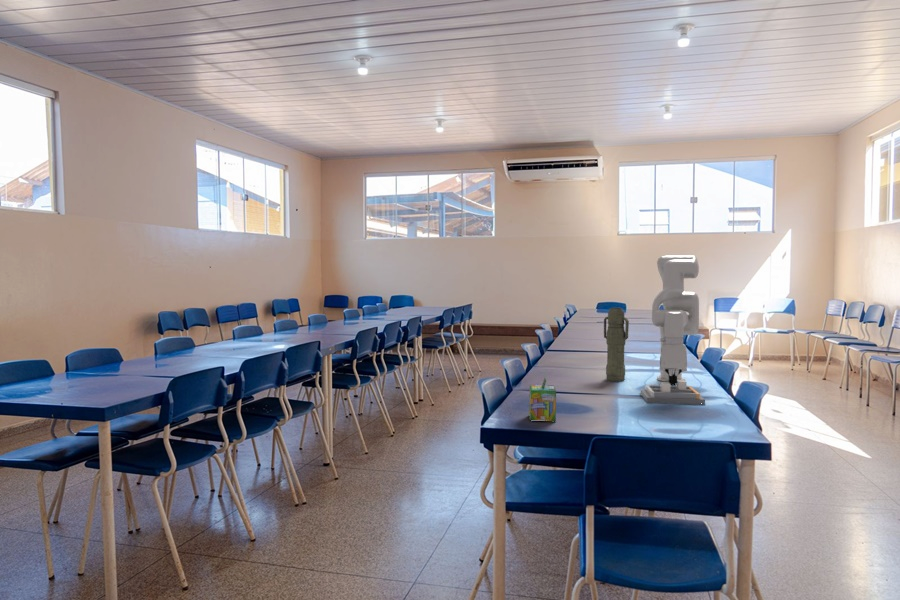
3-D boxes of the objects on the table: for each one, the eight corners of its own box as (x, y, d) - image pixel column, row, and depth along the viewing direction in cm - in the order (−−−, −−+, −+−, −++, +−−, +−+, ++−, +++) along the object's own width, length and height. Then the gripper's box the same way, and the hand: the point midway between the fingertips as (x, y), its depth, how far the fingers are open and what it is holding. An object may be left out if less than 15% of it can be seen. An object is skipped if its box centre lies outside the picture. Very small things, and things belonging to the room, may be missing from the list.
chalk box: (528, 415, 207) (528, 375, 206) (554, 415, 206) (554, 376, 205) (529, 422, 197) (529, 380, 197) (556, 422, 196) (556, 381, 196)
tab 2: (678, 393, 231) (678, 381, 230) (676, 390, 235) (676, 379, 235) (686, 393, 230) (686, 381, 230) (683, 391, 235) (684, 379, 234)
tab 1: (662, 395, 226) (662, 384, 226) (660, 393, 230) (660, 382, 230) (670, 396, 226) (670, 384, 225) (668, 393, 230) (668, 382, 230)
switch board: (646, 402, 225) (646, 392, 224) (640, 393, 240) (640, 384, 240) (705, 404, 221) (705, 394, 221) (694, 395, 236) (695, 386, 236)
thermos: (625, 382, 264) (626, 308, 262) (600, 380, 270) (601, 307, 268) (630, 379, 272) (631, 307, 270) (606, 377, 278) (606, 306, 276)
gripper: (656, 342, 230) (655, 386, 231) (694, 342, 227) (694, 387, 228) (653, 339, 237) (652, 382, 238) (690, 340, 234) (689, 383, 235)
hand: (672, 384), depth 233 cm, fingers closed
